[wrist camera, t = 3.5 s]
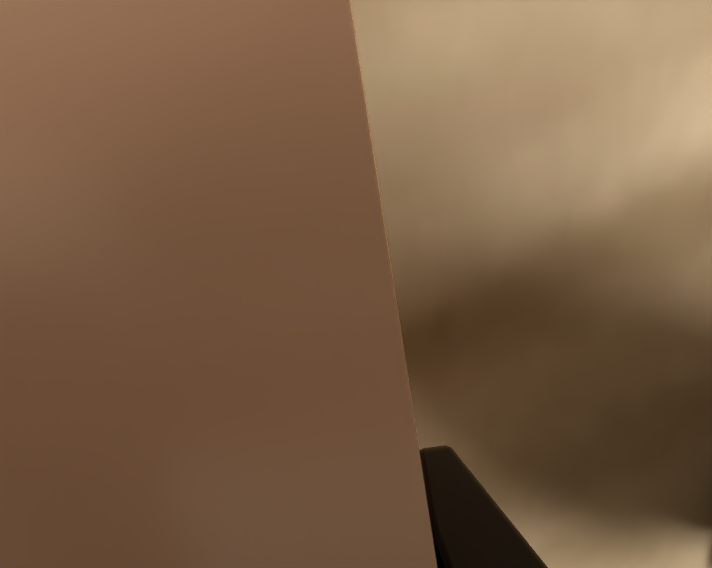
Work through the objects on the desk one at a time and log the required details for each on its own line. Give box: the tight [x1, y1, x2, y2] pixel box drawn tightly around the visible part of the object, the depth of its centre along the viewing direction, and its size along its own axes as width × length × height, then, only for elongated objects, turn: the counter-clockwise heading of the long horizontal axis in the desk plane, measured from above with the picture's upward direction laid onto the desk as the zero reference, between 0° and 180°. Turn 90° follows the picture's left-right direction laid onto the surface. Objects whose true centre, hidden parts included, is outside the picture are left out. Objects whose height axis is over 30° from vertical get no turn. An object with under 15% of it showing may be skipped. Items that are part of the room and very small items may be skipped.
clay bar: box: [0, 0, 438, 568], centre depth 8 cm, size 14×4×4 cm, turn 9°
